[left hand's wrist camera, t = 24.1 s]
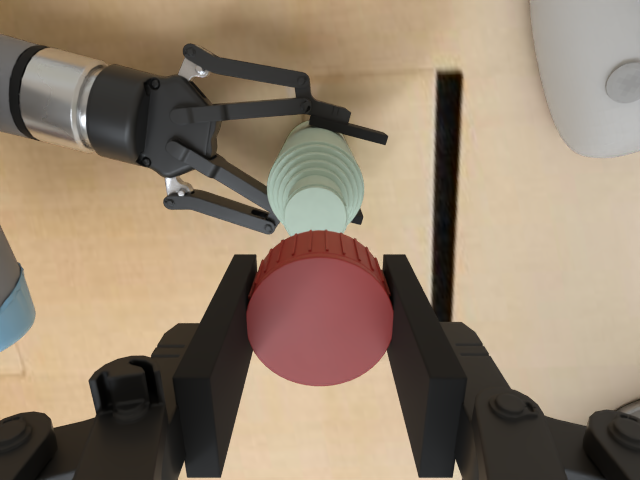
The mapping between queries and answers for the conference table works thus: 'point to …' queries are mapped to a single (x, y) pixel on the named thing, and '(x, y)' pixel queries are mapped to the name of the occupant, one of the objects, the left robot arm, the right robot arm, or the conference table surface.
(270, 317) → the cap
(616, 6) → the projector
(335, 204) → the bottle
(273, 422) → the conference table surface
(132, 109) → the right robot arm
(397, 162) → the conference table surface
